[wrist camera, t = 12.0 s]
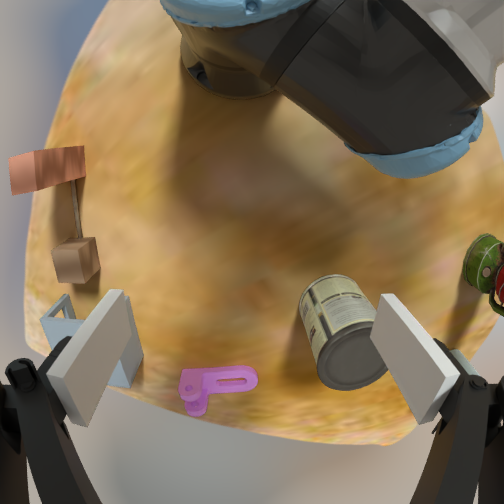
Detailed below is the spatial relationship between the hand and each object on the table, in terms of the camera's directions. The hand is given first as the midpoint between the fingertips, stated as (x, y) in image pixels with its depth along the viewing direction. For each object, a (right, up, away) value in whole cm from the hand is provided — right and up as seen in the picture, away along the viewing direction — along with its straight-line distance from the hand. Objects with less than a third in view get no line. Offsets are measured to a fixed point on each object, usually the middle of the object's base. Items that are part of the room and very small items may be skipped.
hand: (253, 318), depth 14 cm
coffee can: (+12, -5, +31) cm, 33 cm away
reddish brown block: (-26, +10, +24) cm, 37 cm away
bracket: (-6, -19, +36) cm, 41 cm away
